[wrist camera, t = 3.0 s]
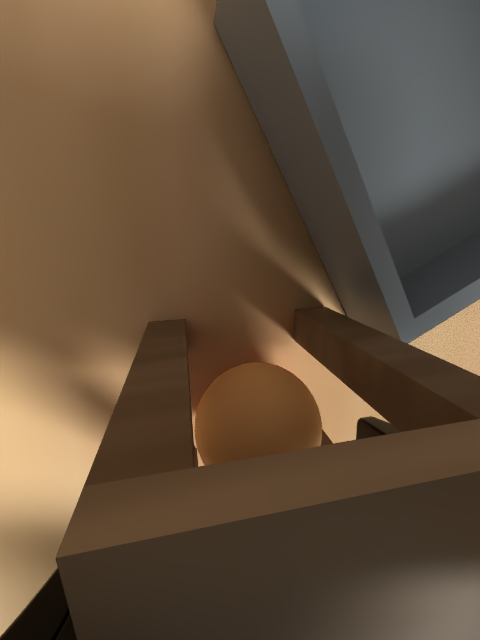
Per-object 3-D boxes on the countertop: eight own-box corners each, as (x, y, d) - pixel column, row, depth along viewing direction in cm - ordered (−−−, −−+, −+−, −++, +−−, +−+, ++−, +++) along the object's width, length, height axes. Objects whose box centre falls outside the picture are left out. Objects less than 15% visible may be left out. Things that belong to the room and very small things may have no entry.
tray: (512, -146, 9) (671, -330, 6) (565, 187, 12) (686, 170, 9) (213, 23, 8) (230, -88, 6) (348, 320, 12) (403, 346, 9)
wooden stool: (148, 322, 10) (54, 557, 3) (325, 306, 11) (624, 441, 4) (168, 479, 12) (146, 903, 4) (320, 452, 13) (520, 752, 5)
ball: (265, 325, 11) (310, 369, 7) (310, 405, 12) (368, 479, 8) (171, 382, 11) (166, 458, 7) (226, 458, 12) (247, 556, 8)
